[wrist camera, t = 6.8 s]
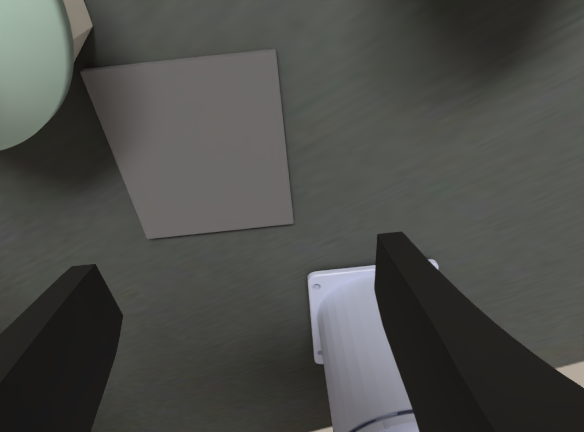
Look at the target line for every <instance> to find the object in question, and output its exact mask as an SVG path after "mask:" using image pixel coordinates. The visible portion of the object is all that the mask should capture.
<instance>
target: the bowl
mask: <svg viewBox="0 0 584 432" xmlns="http://www.w3.org/2000/svg"><path fill="white" fill-rule="evenodd" d="M63 2H64V4H65V7H66V11H67V14H68V18H69V21H70V25H71V31H72V37H73V43H74V62H75V60H76V58H77V56H78V54H79V52H80V50H81V48H82V46H83V44H84V42H85V40H86V38H87V36H88V34H89V32H90V30H91V28H92V27H93V25H92V22H91V19H90V17H89V14H88V11H87V8H86V5H85V3H84V0H63Z"/></svg>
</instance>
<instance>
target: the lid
mask: <svg viewBox="0 0 584 432" xmlns="http://www.w3.org/2000/svg"><path fill="white" fill-rule="evenodd" d="M73 67H74V43H73V37H72V31H71V25H70V21H69V18H68V14H67V11H66V7H65V4H64V2H63V0H0V150H3V149H7V148H10V147H13V146H15V145H17V144H19V143H22V142H24V141H25V140H27V139H28V138H30V137H31V136H33V135H34V134H35V133H37V132H38V131H39V130H40V129H41V128H42V127H43V126H44V125H45V124H46V123H47V122H48V121H49V120H50V119H51V118H52V117H53V116H54V115H55V114H56V112H57V111H58V109H59V108H60V107H61V105H62V104H63V102H64V100H65V98H66V95H67V93H68V91H69V88H70V84H71V80H72V76H73Z"/></svg>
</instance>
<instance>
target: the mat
mask: <svg viewBox="0 0 584 432" xmlns="http://www.w3.org/2000/svg"><path fill="white" fill-rule="evenodd" d="M80 74H81V76H82V78H83V81H84V83H85V86H86V88H87V91H88V93H89V96H90V98H91V101H92V103H93V106H94V108H95V111H96V113H97V116H98V118H99V121H100V123H101V126H102V128H103V130H104V133H105V135H106V138H107V140H108V143H109V145H110V148H111V150H112V153H113V155H114V158H115V160H116V163H117V165H118V168H119V170H120V173H121V175H122V178H123V180H124V182H125V185H126V187H127V190H128V192H129V195H130V197H131V200H132V202H133V205H134V207H135V210H136V212H137V215H138V217H139V220H140V222H141V225H142V227H143V230H144V232H145V234H146V237H147V239H153V238H162V237H172V236H181V235H191V234H200V233H210V232H219V231H229V230H238V229H248V228H257V227H267V226H276V225H286V224H294V222H293V212H292V203H291V193H290V183H289V173H288V164H287V154H286V144H285V135H284V125H283V115H282V106H281V96H280V86H279V77H278V67H277V57H276V49H268V50H259V51H249V52H240V53H230V54H221V55H211V56H202V57H192V58H183V59H173V60H164V61H154V62H145V63H135V64H126V65H116V66H107V67H97V68H88V69H83V70H82V71H80Z"/></svg>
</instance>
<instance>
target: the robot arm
mask: <svg viewBox="0 0 584 432" xmlns="http://www.w3.org/2000/svg"><path fill="white" fill-rule="evenodd" d="M307 279H308V290H309V302H310V314H311V326H312V337H313V349H314V360H315V362H316V363H317V364H324V370H325V377H326V384H327V391H328V398H329V405H330V412H331V419H332V426H333V432H584V388H583V387H581V386H580V385H578V384H577V383H575V382H574V381H572V380H571V379H569V378H567V377H566V376H565V375H563V374H562V373H560V372H558V371H557V370H556V369H554V368H553V367H552V366H550V365H549V364H547V363H546V362H545V361H543V360H542V359H541V358H539V357H538V356H536V355H535V354H534V353H532V352H531V351H530V350H529V349H527V348H526V347H525V346H523V345H522V344H521V343H519V342H518V341H517V340H515V339H514V338H513V337H512V336H510V335H509V334H508V333H507V332H506V331H504V330H503V329H502V328H501V327H500V326H498V325H497V324H496V323H495V322H494V321H492V320H491V319H490V318H489V317H488V316H487V315H485V314H484V313H483V312H482V311H481V310H480V309H479V308H477V307H476V306H475V305H474V304H473V303H472V302H471V301H470V300H469V299H468V298H466V297H465V296H464V295H463V294H462V293H461V292H460V291H459V290H458V289H457V288H456V287H455V286H454V285H453V284H452V283H451V282H450V281H449V280H448V279H447V278H446V277H445V276H444V275H443V274H442V273H441V272H440V271H439V270H438V264H437V262H436V261H435V260H432V259H427V258H426V257H425V256H424V255H423V254H422V253H421V252H420V250H419V249H418V248H417V247H416V246H415V245H414V244H413V243H412V242H411V241H410V240H409V238H408V237H407V236H406V235H405V234H404V233H402V232H394V233H384V234H377V250H376V265H372V266H362V267H353V268H343V269H334V270H324V271H315V272H312V273H310V274H309V275H308V278H307ZM315 284H318V285H315ZM122 319H123V314H122V313H121V311H120V309H119V307H118V305H117V303H116V301H115V300H114V298H113V296H112V294H111V292H110V290H109V288H108V286H107V285H106V283H105V281H104V279H103V277H102V275H101V273H100V272H99V270H98V268H97V266H96V264H91V265H81V266H72V267H71V268H69V269H68V270H67V271H66V272H65V273H64V274H63V275H62V276H60V277H59V278H58V279H57V280H56V281H55V282H54V283H53V284H52V285H51V286H50V287H49V288H48V289H47V290H46V291H45V292H44V293H43V294H42V295H41V296H40V297H39V298H38V299H37V300H36V301H34V302H33V303H32V304H31V305H30V306H29V307H28V308H27V309H26V310H25V311H24V312H23V313H22V314H21V315H20V316H19V317H18V318H17V319H16V320H15V321H14V322H13V323H12V324H11V325H10V326H9V327H7V328H6V329H5V330H4V331H3V332H2V333H1V334H0V432H91V429H92V426H93V423H94V420H95V417H96V414H97V410H98V407H99V404H100V401H101V399H102V396H103V393H104V390H105V387H106V384H107V380H108V377H109V374H110V371H111V368H112V365H113V362H114V359H115V355H116V352H117V347H118V342H119V337H120V331H121V325H122Z"/></svg>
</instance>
